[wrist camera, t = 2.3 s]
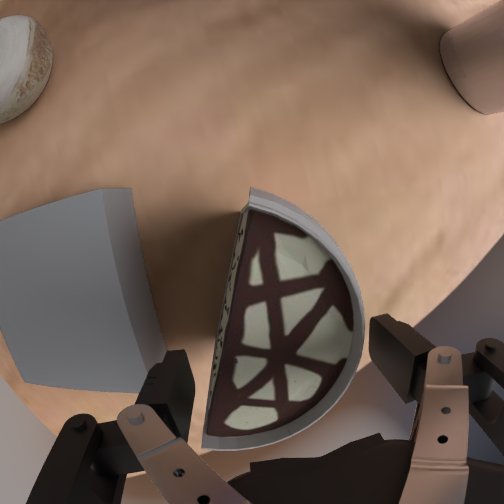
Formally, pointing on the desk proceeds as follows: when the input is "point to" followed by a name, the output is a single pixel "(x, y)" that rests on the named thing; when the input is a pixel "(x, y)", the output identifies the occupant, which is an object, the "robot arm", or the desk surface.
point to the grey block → (79, 294)
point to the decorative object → (22, 64)
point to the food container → (281, 329)
